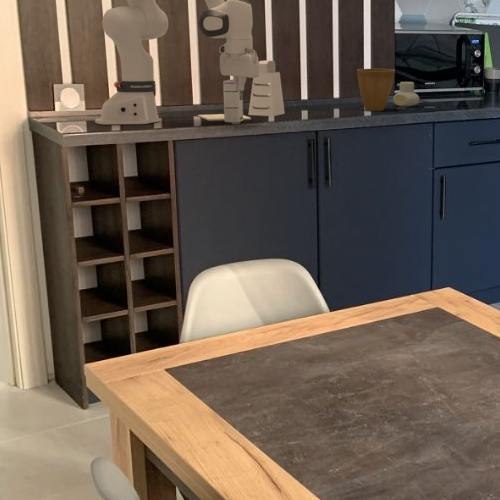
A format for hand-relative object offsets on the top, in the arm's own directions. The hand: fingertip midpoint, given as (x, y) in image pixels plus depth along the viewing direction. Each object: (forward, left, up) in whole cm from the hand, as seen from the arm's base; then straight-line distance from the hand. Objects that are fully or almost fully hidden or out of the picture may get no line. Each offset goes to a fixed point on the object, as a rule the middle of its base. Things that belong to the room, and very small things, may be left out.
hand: (239, 90), depth 284 cm
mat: (0, +22, -12) cm, 24 cm away
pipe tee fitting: (+85, +44, -12) cm, 96 cm away
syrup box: (0, +9, -12) cm, 14 cm away
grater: (+19, +30, -12) cm, 37 cm away
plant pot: (+65, +32, -12) cm, 73 cm away
